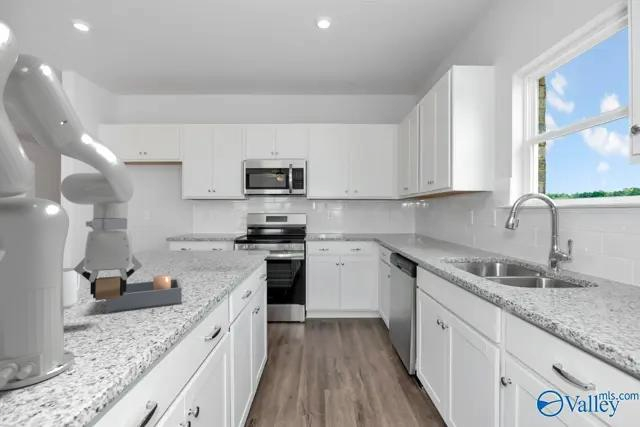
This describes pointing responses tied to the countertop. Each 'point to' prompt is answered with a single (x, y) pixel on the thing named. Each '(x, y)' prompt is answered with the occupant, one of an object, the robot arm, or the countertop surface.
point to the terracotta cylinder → (161, 282)
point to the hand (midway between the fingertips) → (108, 295)
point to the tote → (145, 297)
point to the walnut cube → (108, 288)
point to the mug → (70, 287)
